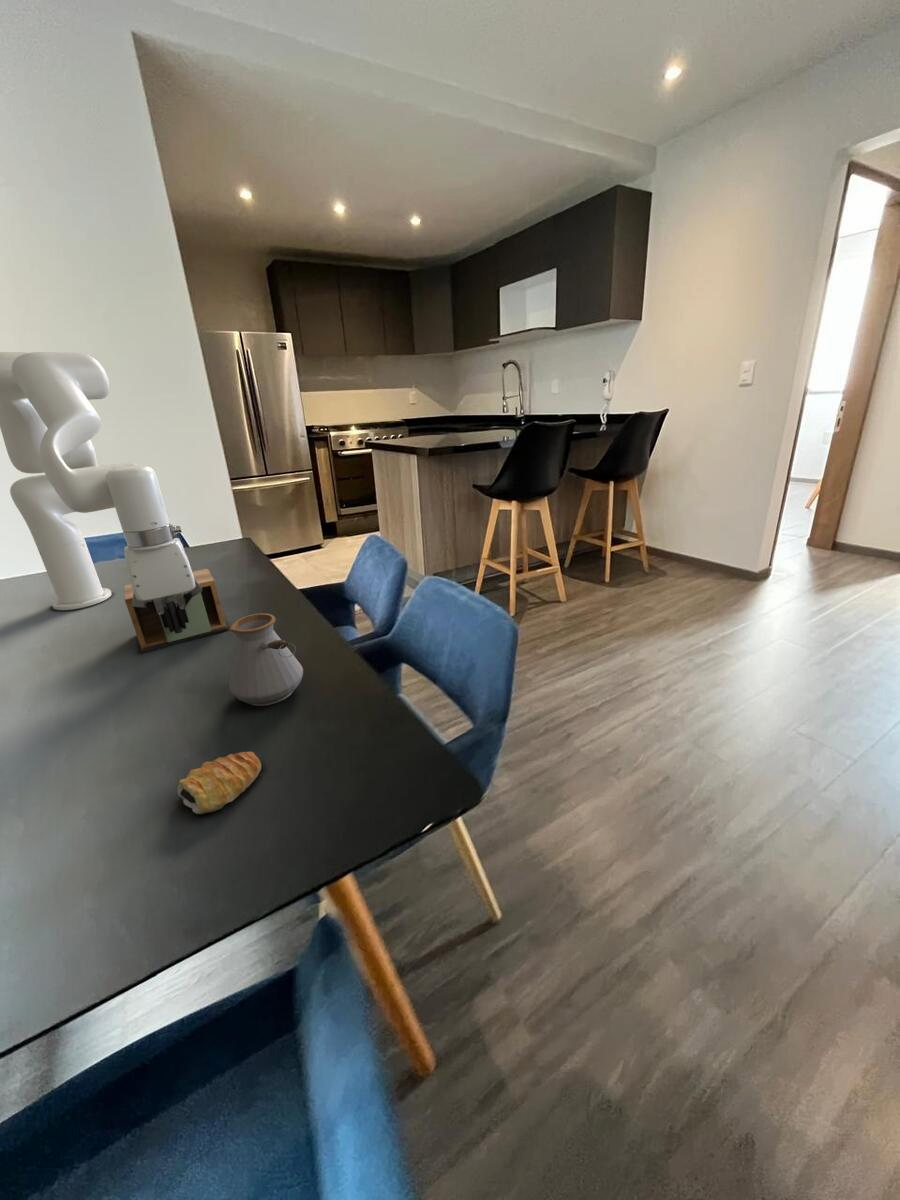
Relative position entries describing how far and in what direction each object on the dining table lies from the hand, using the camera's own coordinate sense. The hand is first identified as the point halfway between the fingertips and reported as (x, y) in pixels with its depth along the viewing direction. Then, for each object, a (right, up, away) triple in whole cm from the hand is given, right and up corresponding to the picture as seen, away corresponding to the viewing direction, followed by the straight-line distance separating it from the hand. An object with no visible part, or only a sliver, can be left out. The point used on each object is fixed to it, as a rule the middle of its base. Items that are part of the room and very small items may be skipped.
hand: (177, 627), depth 96 cm
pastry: (+25, -18, -35) cm, 47 cm away
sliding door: (+1, -3, +4) cm, 5 cm away
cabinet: (-4, -1, +10) cm, 10 cm away
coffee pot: (+27, -11, -19) cm, 35 cm away
